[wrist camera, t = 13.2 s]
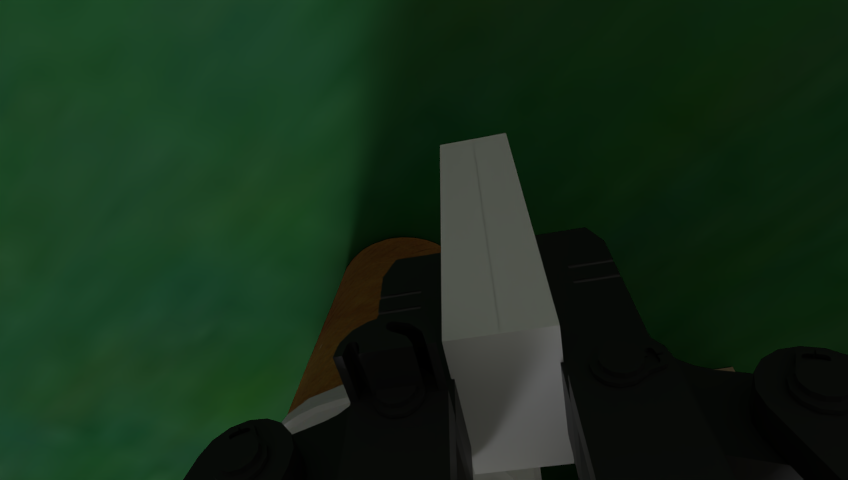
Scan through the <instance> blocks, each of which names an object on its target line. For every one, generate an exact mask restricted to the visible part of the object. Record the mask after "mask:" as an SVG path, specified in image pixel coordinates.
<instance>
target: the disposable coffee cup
mask: <svg viewBox="0 0 848 480" xmlns="http://www.w3.org/2000/svg"><path fill="white" fill-rule="evenodd" d="M435 253H441V246H440V245H438V244H436V243H433V242H430V241H428V240H423V239H418V238H407V237H399V238H392V239H386V240H384V241H381V242H378V243H375V244H372V245H371V246H369V247H367V248H365V249H364V250H362V251H361V252H360V253H359V254H358V255H357V256H355V257H354V258H353V260H352V261H351V263H350V264H349V265H348V267H347V269H346V271H345V273H344V276H343V279H342V281H341V284H340V286H339V289H338V291H337V294H336V296H335V299H334V301H333V304H332V306H331V308H330V311H329V313H328V316H327V318H326V321H325V323H324V325H323V328H322V330H321V333H320V335H319V338H318V340H317V343H316V345H315V348H314V350H313V353H312V355H311V357H310V360H309V362H308V364H307V367H306V369H305V372H304V374H303V377H302V380H301V382H300V385H299V387H298V390H297V392H296V394H295V397H294V400H293V402H292V404H291V407H290V410H289V412H288V415H287V416H286V417H285V419H284V420H283V421H282V424H283V425H284V426H285V427H286V428H287V429H288V430H289V431H290V432H291V434H294V433H297V432H299V431H302V430H304V429H307V428H309V427H312V426H314V425H317V424H319V423H322V422H324V421H326V420H328V419H330V418H332V417H334V416H336V415H338V414H339V413H341V412H342V411H343V410H345V409H346V408H347V407H349V406H350V401H349V398H348V396H347V393H346V390H345V388H344V385H343V383H342V380H341V378H340V375H339V372H338V370H337V367H336V365H335V362H334V360H333V355H334V353H335V351H336V349H337V347H338V345H339V343H340V342H341V341H342V340H343V339H344V338H345V337H346V336H347V335H348V334H349V333H350V332H351V331H352V330H354V329H356V328H357V327H359V326H361V325H363V324H365V323H366V322H368V321H371V320H375V319H377V316H378V315H379V313H378V309H379V302H380V300H381V297H380V295H381V288H382V281H383V277H384V275H385V274H386V273H387V271H388V270H389V269H390V267H391V266H392V264H393V263H394V262H395V260H398V259H404V258H410V257H416V256H423V255H429V254H435ZM472 468H473V464H472ZM473 480H542V478H541V470H540V467H538V468H529V469H520V470H511V471H502V472H493V473H484V474H475V472H474V468H473Z"/></svg>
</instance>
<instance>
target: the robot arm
mask: <svg viewBox="0 0 848 480" xmlns="http://www.w3.org/2000/svg"><path fill="white" fill-rule="evenodd" d="M440 201H441V253H435V254H429V255H423V256H416V257H410V258H404V259H398V260H395V262H394V263H393V264H392V266H391V267H390V269H389V270H388V271H387V273H386V274H385V275H384V277H383V281H382V288H381V295H380V297H381V300H380V302H379V309H378V313H379V315H378V316H377V319H375V320H371V321H368V322H366V323H365V324H363V325H361V326H359V327H357V328H356V329H354V330H352V331H351V332H350V333H349V334H348V335H347V336H346V337H345V338H344V339H343V340H342V341H341V342H340V343H339V345H338V347H337V349H336V351H335V353H334V355H333V360H334V362H335V365H336V367H337V370H338V372H339V375H340V378H341V380H342V383H343V385H344V388H345V390H346V393H347V396H348V398H349V401H350V406H349V407H347V408H346V409H345V410H343V411H342V412H341V413H339V414H338V415H336V416H334V417H332V418H330V419H328V420H326V421H324V422H322V423H319V424H317V425H314V426H312V427H309V428H307V429H304V430H302V431H299V432H297V433H294V434H291V432H290V431H289V430H288V429H287V428H286V427H285V426H284V425H283V424H282V423H280V422H277V421H274V420H270V419H258V420H249V421H246V422H244V423H241V424H239V425H236V426H234V427H231V428H229V429H228V430H227V431H225V432H224V433H222V434H221V435H220V436H218V437H217V438H215V439H214V440H213V441H212V442H211V443H210V444H209V445H208V446H207V448H206V449H205V450H204V451H203V452H202V453H201V454H200V456H199V457H198V458H197V460H196V461H195V463H194V464H193V466H192V467H191V469H190V470H189V472H188V473H187V475H186V476H185V478H184V479H183V480H473V468H474V472H475V474H484V473H493V472H502V471H511V470H520V469H529V468H538V467H547V466H556V465H565V464H573V463H574V461H575V465H576V469H577V473H578V480H848V355H846V354H842V353H839V352H836V351H833V350H829V349H826V348H815V347H804V346H798V347H791V348H785V349H779V350H776V351H775V352H773V353H771V354H769V355H767V356H766V357H764V358H762V359H761V361H760V362H759V364H758V366H757V367H756V369H755V371H754V374H751V373H742V372H733V371H723V370H714V369H709V368H703V367H698V366H694V365H691V364H688V363H685V362H683V361H680V360H678V359H676V358H674V357H673V355H672V354H671V353H670V352H669V351H668V349H667V348H666V347H665V346H664V345H662V344H660V343H659V342H657V341H655V340H654V339H652V338H651V337H650V336H649V334H648V332H647V330H646V328H645V326H644V324H643V322H642V320H641V317H640V315H639V313H638V311H637V309H636V307H635V305H634V303H633V301H632V298H631V296H630V294H629V292H628V290H627V288H626V286H625V284H624V282H623V279H622V277H620V274H619V271H618V269H617V267H616V265H615V263H614V262H613V259H612V256H611V254H610V252H609V250H608V248H607V246H606V244H605V242H604V240H603V239H601V238H600V237H598V236H597V235H595V234H594V233H593V232H591V231H590V230H588V229H587V228H585V227H584V228H578V229H571V230H565V231H559V232H553V233H547V234H541V235H534V231H533V228H532V224H531V221H530V217H529V214H528V210H527V206H526V203H525V199H524V196H523V192H522V189H521V185H520V182H519V178H518V174H517V171H516V167H515V164H514V160H513V157H512V153H511V150H510V146H509V142H508V139H507V135H506V133H503V134H497V135H492V136H487V137H481V138H476V139H470V140H465V141H460V142H454V143H449V144H443V145H440ZM472 464H473V468H472Z"/></svg>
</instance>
